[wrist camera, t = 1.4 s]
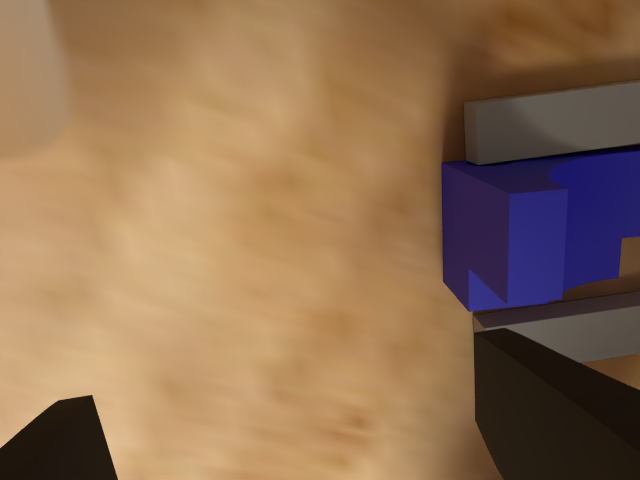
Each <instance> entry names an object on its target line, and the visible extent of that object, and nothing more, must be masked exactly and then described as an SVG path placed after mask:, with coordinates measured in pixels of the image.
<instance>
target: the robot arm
mask: <svg viewBox="0 0 640 480" xmlns="http://www.w3.org/2000/svg"><path fill="white" fill-rule="evenodd" d="M474 371H475V421H476V423H477V425H478V428H479V430H480V432H481V434H482V437H483V439H484V441H485V443H486V446H487V448H488V450H489V452H490V454H491V456H492V458H493V461H494V463H495V465H496V467H497V469H498V470H499V472H500V474H501V475H502V477H503V479H504V480H640V390H638V389H636V388H633V387H631V386H628V385H626V384H624V383H622V382H620V381H617V380H615V379H613V378H611V377H608V376H606V375H604V374H602V373H600V372H598V371H595V370H593V369H591V368H589V367H587V366H585V365H583V364H581V363H579V362H577V361H575V360H573V359H570V358H568V357H566V356H564V355H562V354H560V353H558V352H556V351H554V350H552V349H550V348H548V347H546V346H544V345H542V344H540V343H538V342H536V341H534V340H532V339H530V338H527V337H525V336H523V335H521V334H519V333H517V332H514V331H512V330H509V329H507V328H499V329H493V330H487V331H480V332H474ZM0 480H118V478H117V475H116V472H115V468H114V465H113V462H112V459H111V455H110V452H109V449H108V445H107V442H106V439H105V436H104V432H103V429H102V426H101V423H100V419H99V416H98V413H97V409H96V406H95V403H94V400H93V396H92V395H89V396H83V397H77V398H71V399H65V400H58V401H57V402H55V403H54V404H53V405H51V406H50V407H49V408H47V409H46V410H45V411H44V412H42V413H41V414H40V415H39V416H37V417H36V418H35V419H34V420H33V421H31V422H30V423H29V424H28V425H27V426H26V427H24V428H23V429H22V430H21V431H20V432H19V433H17V434H16V435H15V436H14V437H13V438H12V439H11V440H9V441H8V442H7V443H6V444H5V445H4V446H2V447H1V448H0Z"/></svg>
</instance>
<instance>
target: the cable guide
mask: <svg viewBox="0 0 640 480" xmlns="http://www.w3.org/2000/svg"><path fill="white" fill-rule="evenodd" d="M463 103H464V125H465V147H466V160H467V161H469V162H472V163H474V164H477V165H482V164H489V163H496V162H504V161H511V160H519V159H526V158H534V157H541V156H548V155H556V154H563V153H571V152H578V151H586V150H593V149H600V148H608V147H615V146H623V145H630V144H638V143H640V79H639V80H631V81H624V82H616V83H608V84H601V85H593V86H585V87H578V88H570V89H562V90H555V91H547V92H539V93H532V94H524V95H516V96H509V97H501V98H493V99H485V100H478V101H470V102H463ZM473 323H474V332H480V331H487V330H493V329H499V328H507V329H509V330H512V331H514V332H517V333H519V334H521V335H523V336H525V337H527V338H530V339H532V340H534V341H536V342H538V343H540V344H542V345H544V346H546V347H548V348H550V349H552V350H554V351H556V352H558V353H560V354H562V355H564V356H566V357H568V358H570V359H573V360H575V361H577V362H579V363H584V362H590V361H597V360H604V359H610V358H617V357H624V356H630V355H637V354H640V291H636V292H629V293H622V294H615V295H609V296H602V297H595V298H588V299H581V300H574V301H567V302H560V303H553V304H546V305H540V306H533V307H526V308H519V309H512V310H505V311H498V312H491V313H484V314H477V315H473Z"/></svg>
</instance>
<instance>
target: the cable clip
mask: <svg viewBox="0 0 640 480" xmlns="http://www.w3.org/2000/svg"><path fill="white" fill-rule="evenodd" d="M442 226H443V282H444V283H445V284H446V285H447V286H448V288H449V289H450V290H451V291H452V292H453V294H454V295H455V296H456V297H457V298H458V299H459V301H460V302H461V303H462V304H463V305H464V307H465V308H466V309H467V310H468V311H469V312H470V311H480V310H490V309H499V308H509V307H519V306H528V305H538V304H548V303H549V302H550V301H552V300H562V296H563V292H564V291H566V290H568V289H571V288H573V287H576V286H579V285H583V284H586V283H590V282H595V281H600V280H606V279H613V278H619V266H620V254H621V242H622V238H626V237H640V145H633V146H621V147H610V148H600V149H593V150H586V151H578V152H571V153H563V154H556V155H548V156H541V157H534V158H526V159H519V160H511V161H504V162H496V163H489V164H482V165H477V164H474V163H472V162H469V161H467V160H464V161H452V162H442Z"/></svg>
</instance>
